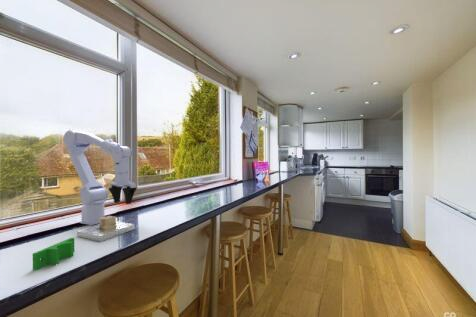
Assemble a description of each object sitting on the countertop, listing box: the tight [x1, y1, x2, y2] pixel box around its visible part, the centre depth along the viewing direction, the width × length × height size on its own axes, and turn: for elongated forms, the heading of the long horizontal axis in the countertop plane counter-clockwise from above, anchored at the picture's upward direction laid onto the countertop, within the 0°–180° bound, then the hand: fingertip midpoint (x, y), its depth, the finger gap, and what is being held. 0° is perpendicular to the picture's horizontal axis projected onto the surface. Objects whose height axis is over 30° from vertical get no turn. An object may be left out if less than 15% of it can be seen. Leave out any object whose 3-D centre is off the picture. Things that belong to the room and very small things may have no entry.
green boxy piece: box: [32, 237, 76, 271], centre depth 60 cm, size 11×4×5 cm, turn 173°
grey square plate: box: [76, 221, 135, 243], centre depth 82 cm, size 14×14×2 cm
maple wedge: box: [98, 215, 117, 231], centre depth 83 cm, size 4×4×6 cm
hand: (122, 203), depth 93 cm, fingers open, 7 cm apart
